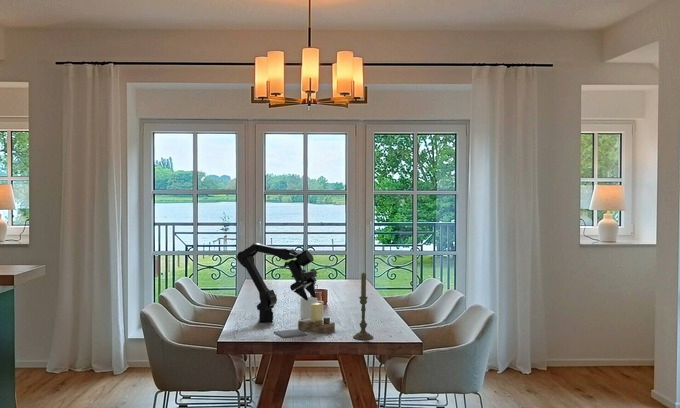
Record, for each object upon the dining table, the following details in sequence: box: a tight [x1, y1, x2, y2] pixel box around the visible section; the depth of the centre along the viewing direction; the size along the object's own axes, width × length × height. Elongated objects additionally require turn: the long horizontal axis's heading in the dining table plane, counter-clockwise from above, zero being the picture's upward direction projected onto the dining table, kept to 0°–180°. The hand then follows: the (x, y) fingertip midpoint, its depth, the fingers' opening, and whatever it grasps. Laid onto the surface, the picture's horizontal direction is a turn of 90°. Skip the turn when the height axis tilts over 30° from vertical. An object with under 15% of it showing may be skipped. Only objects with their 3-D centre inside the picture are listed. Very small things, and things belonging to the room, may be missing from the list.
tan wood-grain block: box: [311, 302, 323, 323], centre depth 293 cm, size 3×5×10 cm, turn 144°
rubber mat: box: [273, 328, 308, 339], centre depth 284 cm, size 12×12×1 cm
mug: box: [299, 296, 324, 320], centre depth 318 cm, size 12×9×11 cm
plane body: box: [297, 316, 336, 335], centre depth 293 cm, size 16×8×6 cm, turn 54°
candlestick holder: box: [352, 272, 374, 341], centre depth 277 cm, size 9×9×30 cm
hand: (311, 298), depth 303 cm, fingers open, 9 cm apart
